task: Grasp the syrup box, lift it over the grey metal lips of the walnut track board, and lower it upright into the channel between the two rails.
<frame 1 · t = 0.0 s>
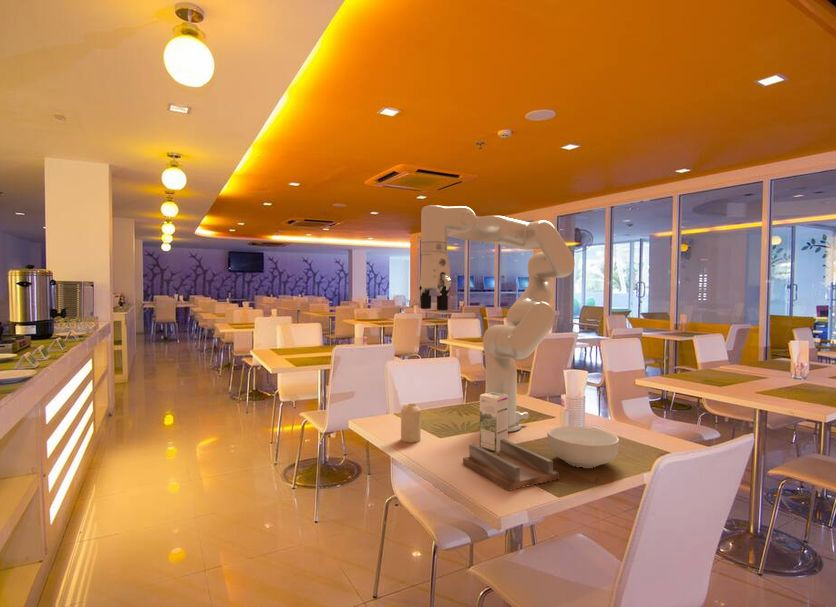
hand: (433, 309, 143), 37 cm above the table, tool pointing down, fingers open, 9 cm apart
syrup box: (493, 448, 134), on the table
track board: (508, 471, 117), on the table
cereal bowl: (582, 463, 123), on the table
candle: (410, 440, 141), on the table
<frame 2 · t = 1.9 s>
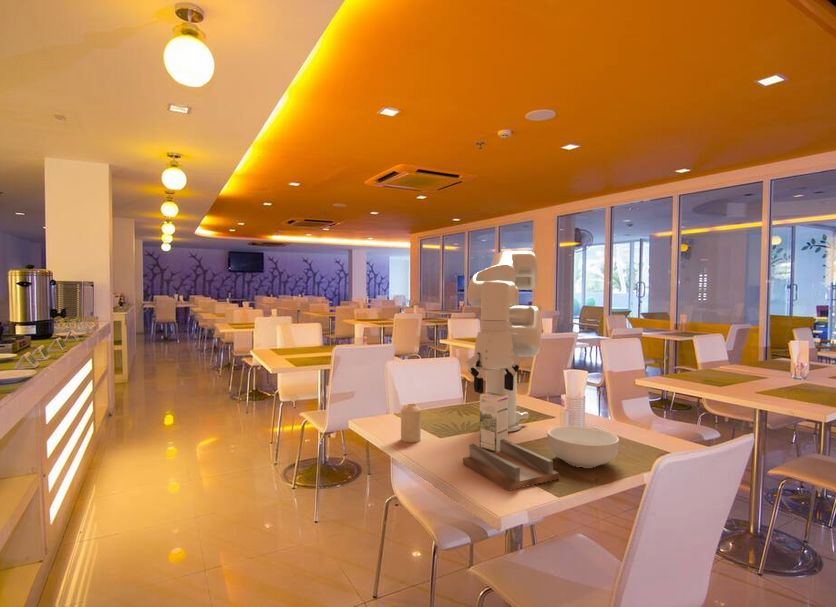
hand: (493, 391, 133), 15 cm above the table, tool pointing down, fingers open, 9 cm apart
nothing on the table moved.
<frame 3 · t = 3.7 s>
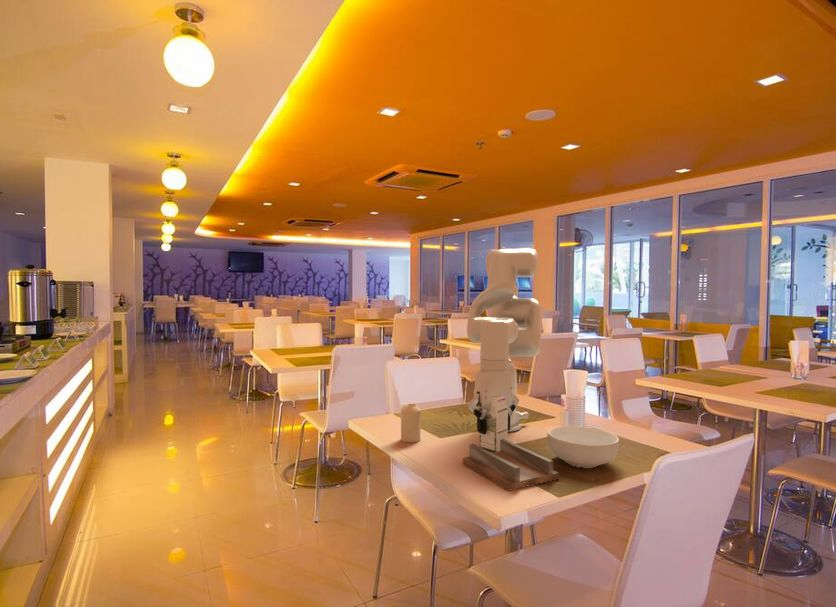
hand: (493, 430, 134), 5 cm above the table, tool pointing down, fingers closed on syrup box, 7 cm apart
syrup box: (493, 448, 134), on the table, touching gripper
everything else where it was.
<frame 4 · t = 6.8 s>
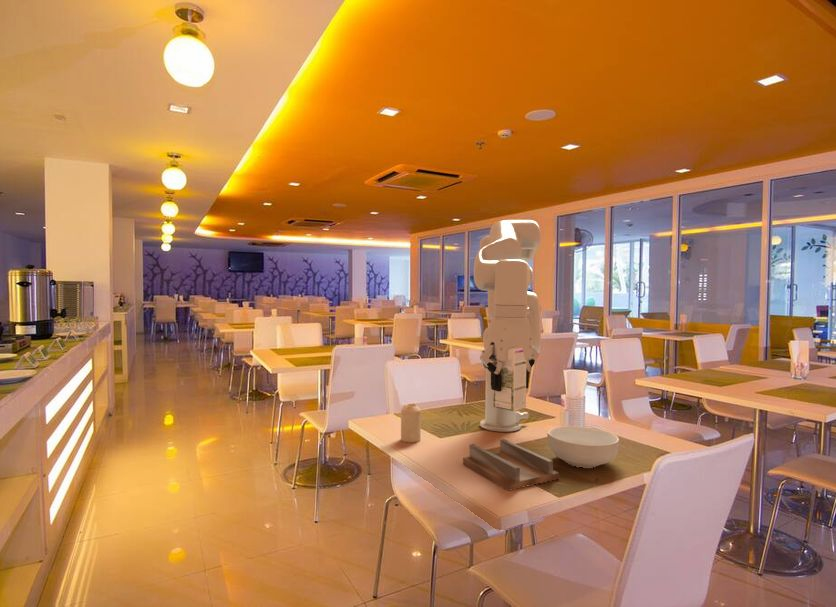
hand: (509, 388, 116), 20 cm above the table, tool pointing down, fingers closed on syrup box, 7 cm apart
syrup box: (509, 408, 117), point 15 cm above the table, touching gripper
everything else where it was.
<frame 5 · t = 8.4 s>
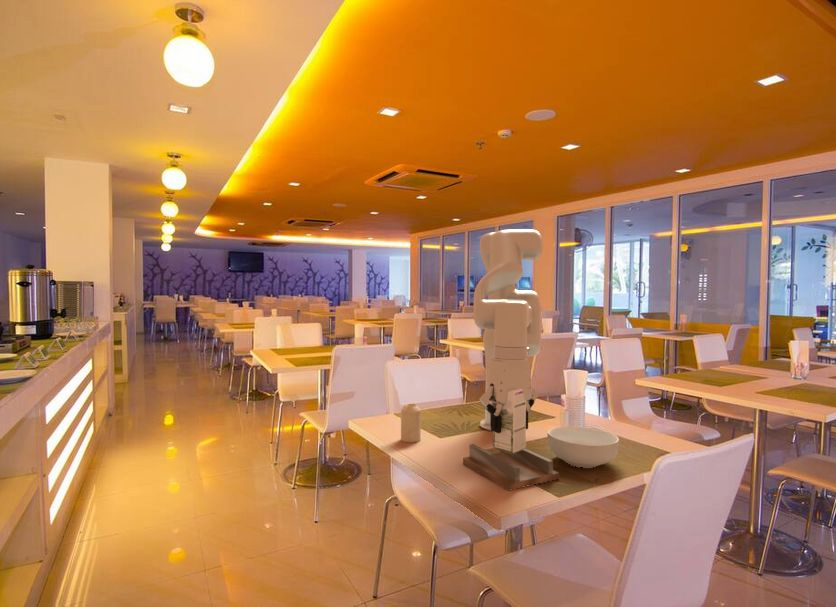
hand: (509, 429, 116), 10 cm above the table, tool pointing down, fingers closed on syrup box, 7 cm apart
syrup box: (509, 449, 117), point 5 cm above the table, touching gripper
everything else where it was.
when the fingers open (7 cm above the table, at t = 9.9 s): syrup box drops 1 cm, resting on track board.
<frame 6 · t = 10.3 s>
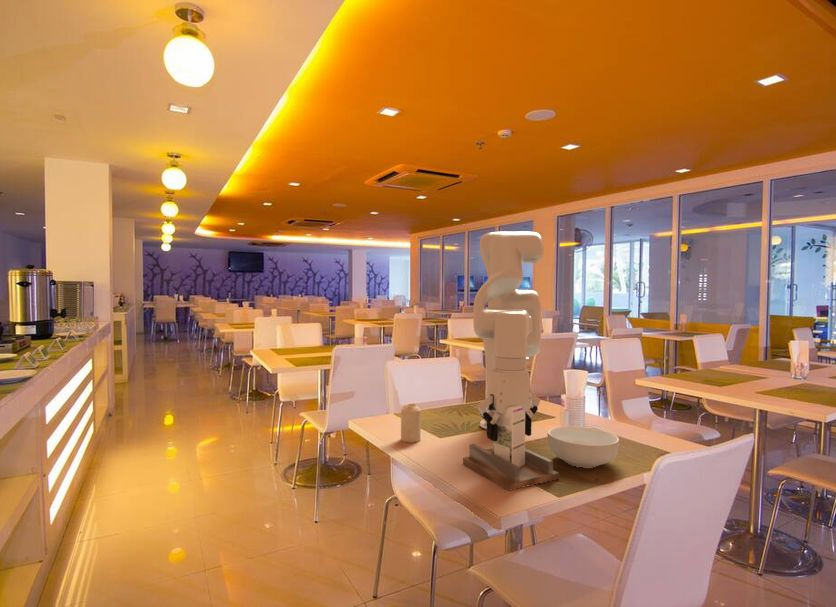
hand: (509, 437, 117), 8 cm above the table, tool pointing down, fingers open, 9 cm apart
syrup box: (508, 465, 117), point 1 cm above the table, touching track board
everything else where it was.
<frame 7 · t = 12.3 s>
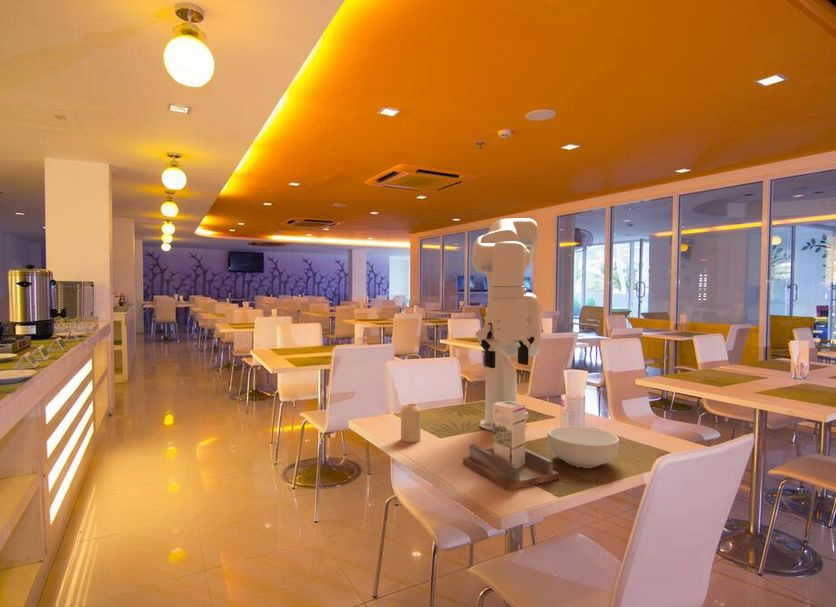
hand: (506, 365, 119), 24 cm above the table, tool pointing down, fingers open, 9 cm apart
nothing on the table moved.
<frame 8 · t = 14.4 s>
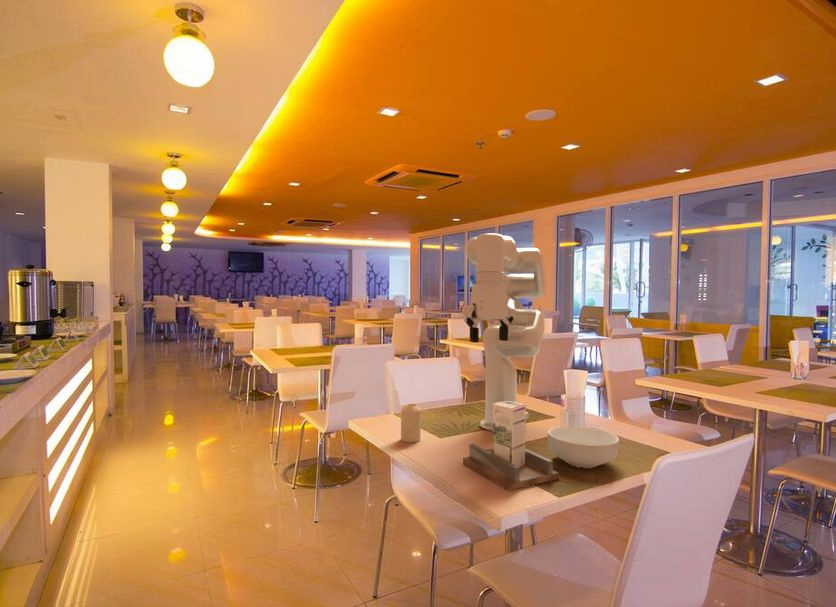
hand: (489, 341, 138), 28 cm above the table, tool pointing down, fingers open, 9 cm apart
nothing on the table moved.
at the end: syrup box inside the target area on the track board (0.2 cm from its centre), point 1.3 cm above the track board's base; syrup box tilted 0°; the gripper is holding nothing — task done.
